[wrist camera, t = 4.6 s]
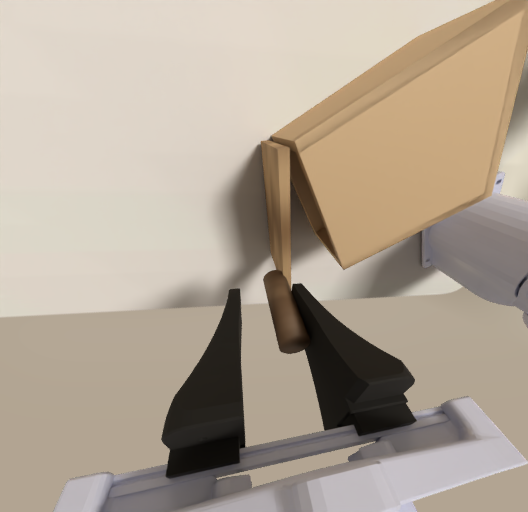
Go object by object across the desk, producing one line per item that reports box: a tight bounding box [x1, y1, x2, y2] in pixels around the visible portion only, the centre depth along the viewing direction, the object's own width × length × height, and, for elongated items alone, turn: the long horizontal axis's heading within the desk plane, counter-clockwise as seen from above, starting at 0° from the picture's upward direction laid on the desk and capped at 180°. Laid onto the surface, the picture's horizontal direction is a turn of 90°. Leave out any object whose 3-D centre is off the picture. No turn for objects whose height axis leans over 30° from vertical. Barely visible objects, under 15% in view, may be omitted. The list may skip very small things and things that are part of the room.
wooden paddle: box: [261, 140, 311, 354], centre depth 12 cm, size 10×2×11 cm, turn 5°
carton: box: [271, 0, 528, 269], centre depth 13 cm, size 10×11×6 cm
